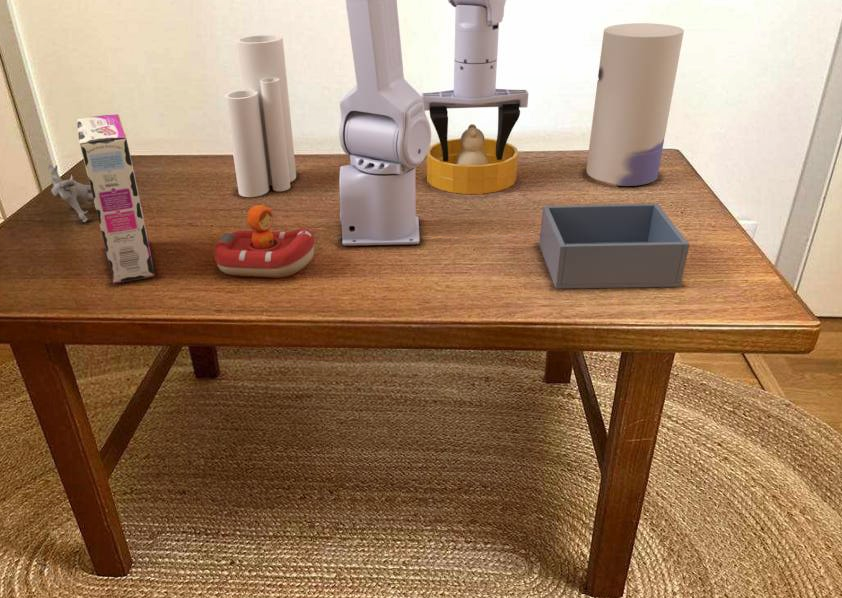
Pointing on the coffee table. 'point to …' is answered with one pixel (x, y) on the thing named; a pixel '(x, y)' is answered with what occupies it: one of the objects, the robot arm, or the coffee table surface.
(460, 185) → the bowl
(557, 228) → the bin
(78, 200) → the elephant figurine
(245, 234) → the toy boat
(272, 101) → the vase
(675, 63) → the container
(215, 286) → the coffee table surface
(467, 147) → the beige rounded figure
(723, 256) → the coffee table surface
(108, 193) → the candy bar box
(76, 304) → the coffee table surface
